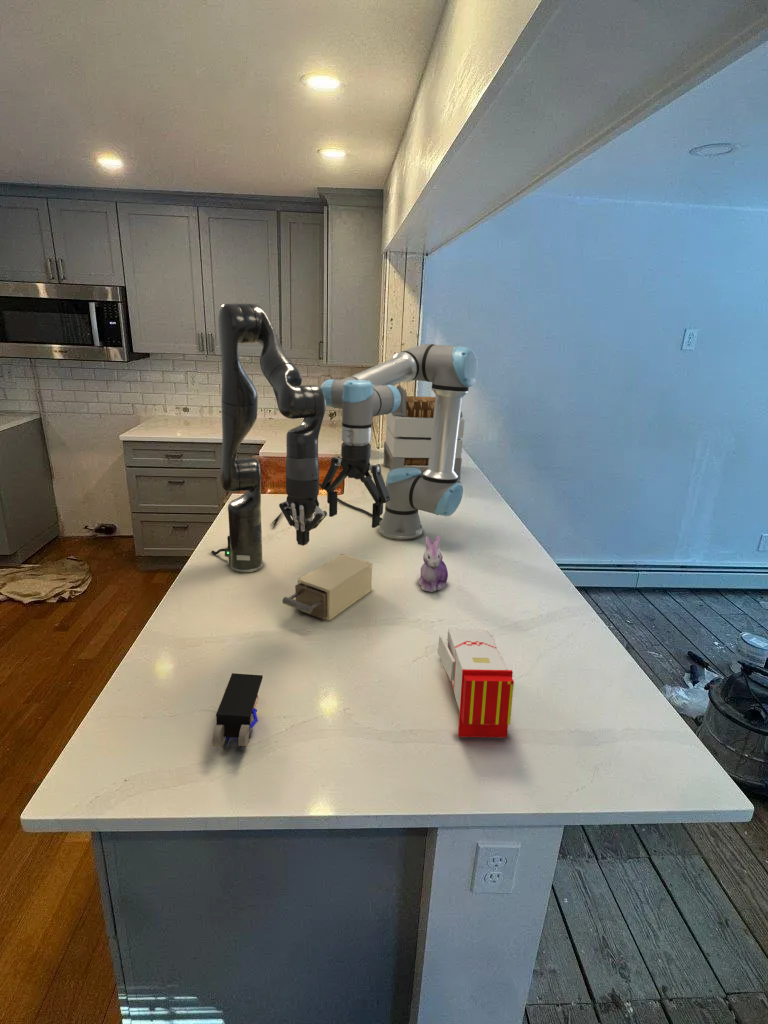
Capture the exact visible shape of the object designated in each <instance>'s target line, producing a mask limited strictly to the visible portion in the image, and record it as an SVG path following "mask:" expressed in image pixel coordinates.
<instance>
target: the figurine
mask: <svg viewBox="0 0 768 1024" xmlns="http://www.w3.org/2000/svg"><path fill="white" fill-rule="evenodd" d="M424 540H425V551H424V553H423V556H422V559H423V562H424V563H423V564H422V565H421V566H420V578H419V581H418V583H419V586H420V587H421V590H422V591H425V592H431V593H432V592H434V593H435V592H436V591H442V590H443V589H444V588H445V587H446V586H447V582H448V578H449V571H448V567H447V565H446V563H445V562H444V560H443V558H444V557H443V554H442V552H441V551H442V550H441V549H440V545H441V540H442V538H441V535H437V536H436V537H435V539H434V540H433V542H432V540H431V538H430V536H428V535H427V536H425V539H424Z"/></svg>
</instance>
